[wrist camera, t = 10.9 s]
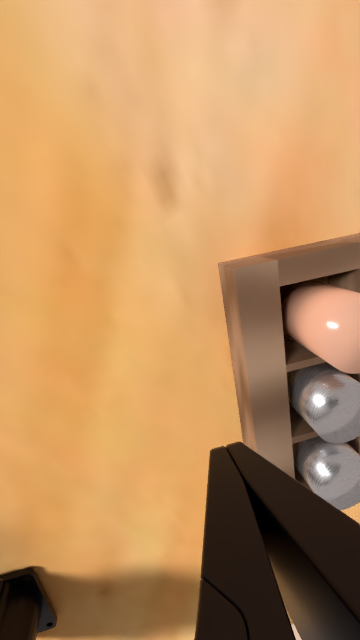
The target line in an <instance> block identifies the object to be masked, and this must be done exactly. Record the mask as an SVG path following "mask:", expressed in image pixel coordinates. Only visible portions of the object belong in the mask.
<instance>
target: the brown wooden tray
mask: <svg viewBox="0 0 360 640" xmlns="http://www.w3.org/2000/svg"><path fill="white" fill-rule="evenodd" d="M218 266H219V273H220V280H221V287H222V294H223V301H224V308H225V315H226V322H227V329H228V337H229V344H230V351H231V358H232V365H233V372H234V379H235V386H236V393H237V400H238V407H239V414H240V422H241V429H242V436H243V443H244V444H245V445H246V446H248V447H249V448H250V449H252V450H253V451H255V452H256V453H258V454H259V455H261V456H262V457H264V458H265V459H266V460H268V461H269V462H271V463H272V464H274V465H275V466H277V467H278V468H279V469H281V470H282V471H284V472H285V473H287V474H288V475H290V476H291V477H292V478H294V479H295V480H297V481H298V482H300V483H301V484H303V485H304V486H305V487H307V488H308V489H310V490H311V491H312V489H311V488H310V487H309V485H308V484H307V482H306V481H305V480H304V478H303V477H302V475H301V474H300V473H299V471H298V470H297V468H296V467H295V466H294V460H293V448H292V444H293V443H297V442H300V441H304V440H307V439H311V438H314V437H318V436H319V435H318V434H317V433H316V432H315V431H314V429H313V428H312V427H311V426H310V425H309V424H308V423H307V422H306V421H305V420H304V419H303V418H302V417H301V416H300V415H299V413H298V412H297V411H296V410H295V409H294V408H293V407H290V408H289V398H288V385H287V373H286V372H289V371H293V370H297V369H301V368H305V367H309V366H313V365H316V364H320V363H324V362H326V361H325V360H323V359H322V358H320V357H319V356H317V355H316V354H314V353H313V352H311V351H309V350H308V349H306V348H305V347H303V346H302V345H300V344H299V343H297V342H296V341H294V340H292V341H288V342H284V335H283V323H282V310H281V298H280V286H284V285H289V284H293V283H298V282H302V281H306V280H311V279H315V278H320V277H324V276H328V284H329V285H333V286H336V287H340V288H343V289H347V290H350V291H354V292H358V293H360V233H359V234H354V235H349V236H345V237H340V238H335V239H331V240H326V241H321V242H316V243H312V244H307V245H302V246H298V247H293V248H288V249H283V250H279V251H274V252H269V253H264V254H260V255H255V256H250V257H246V258H241V259H236V260H231V261H227V262H222V263H218ZM344 373H345V372H344ZM346 374H347V375H349V376H350V377H352V378H353V379H355V380H356V381H358V382H359V383H360V373H357V374H349V373H346ZM347 443H348V444H349V445H350V446H351V447H352V448H353V449H354V450H355V451H356V452H357V453H358V454H359V455H360V435H359V436H358V437H356V438H355V439H353V440H351V441H348V442H347Z"/></svg>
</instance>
